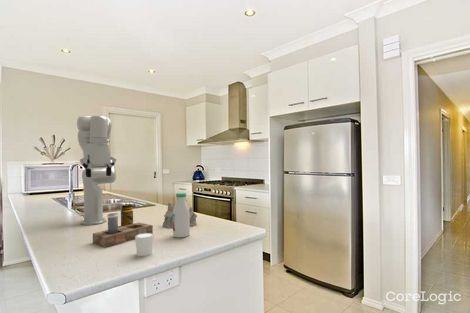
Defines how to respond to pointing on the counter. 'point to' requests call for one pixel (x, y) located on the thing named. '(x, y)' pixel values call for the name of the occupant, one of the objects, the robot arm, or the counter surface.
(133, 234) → the socket block
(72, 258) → the counter surface
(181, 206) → the milk bottle
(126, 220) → the condiment
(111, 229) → the grey rounded cylinder
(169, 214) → the gray stone sculpture
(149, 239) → the shot glass
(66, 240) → the counter surface
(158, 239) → the counter surface
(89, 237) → the counter surface
